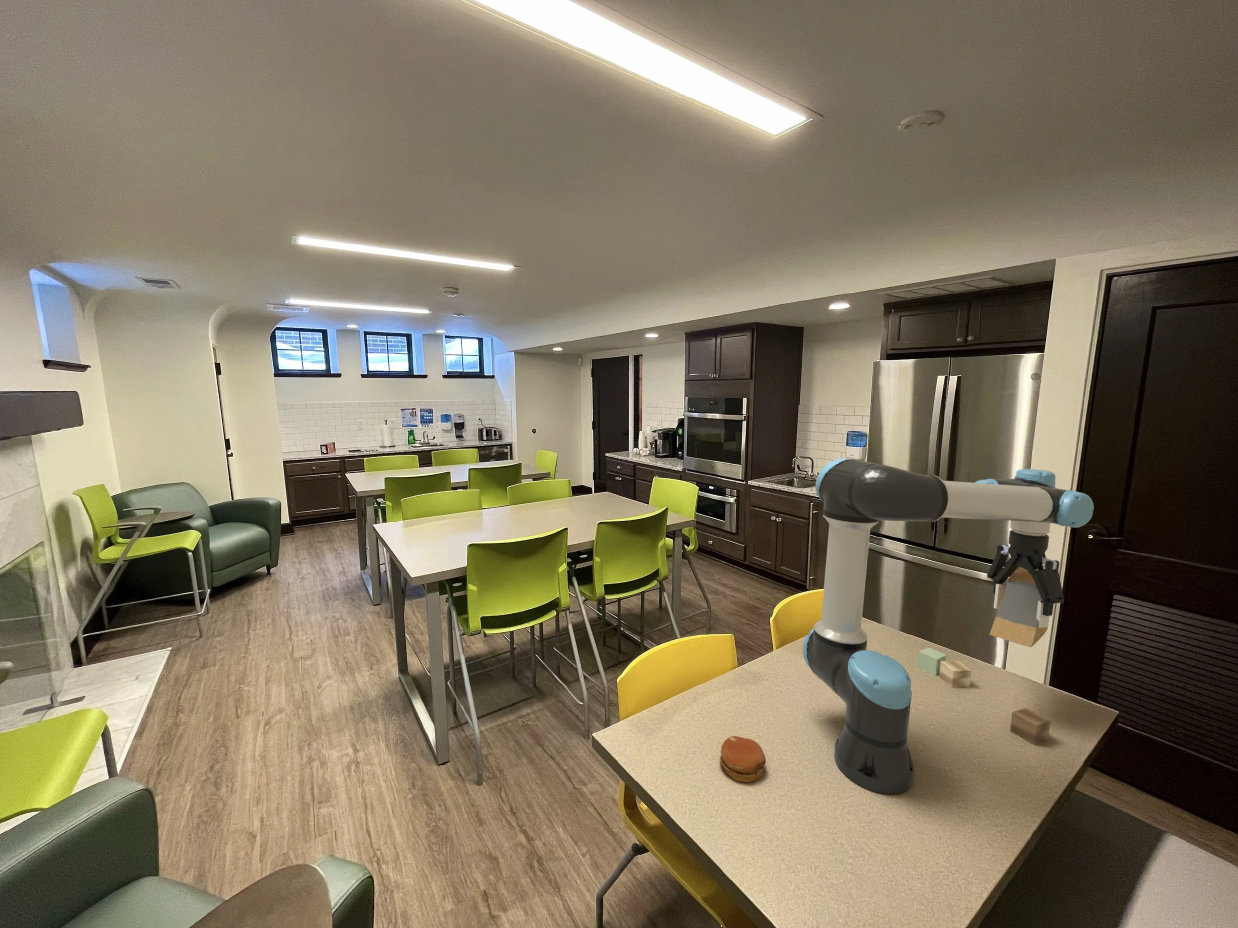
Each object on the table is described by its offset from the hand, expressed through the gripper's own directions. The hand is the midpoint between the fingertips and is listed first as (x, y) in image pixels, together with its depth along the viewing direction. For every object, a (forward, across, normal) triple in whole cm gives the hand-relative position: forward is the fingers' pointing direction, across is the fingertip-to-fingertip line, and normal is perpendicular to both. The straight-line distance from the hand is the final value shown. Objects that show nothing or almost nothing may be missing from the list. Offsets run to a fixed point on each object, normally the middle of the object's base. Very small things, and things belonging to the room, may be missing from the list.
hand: (1019, 616), depth 123 cm
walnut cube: (+24, -11, +7) cm, 27 cm away
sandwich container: (+4, -1, +1) cm, 4 cm away
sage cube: (+24, +18, +7) cm, 31 cm away
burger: (+24, -9, +78) cm, 82 cm away
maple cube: (+24, +11, +6) cm, 27 cm away
